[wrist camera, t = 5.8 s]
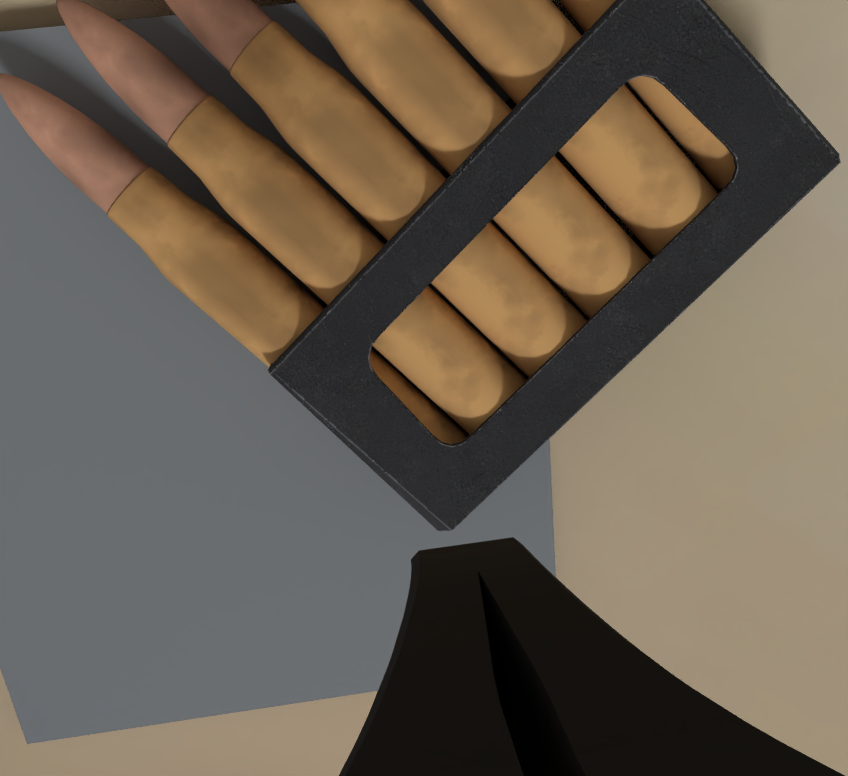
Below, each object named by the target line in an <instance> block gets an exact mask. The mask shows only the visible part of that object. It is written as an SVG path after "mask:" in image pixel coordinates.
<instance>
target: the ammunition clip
mask: <svg viewBox="0 0 848 776" xmlns="http://www.w3.org/2000/svg"><path fill="white" fill-rule="evenodd" d="M164 1H165V2H166V3H167V5H168V6H169V7H170V9H171V10H172V11H173V12H174V13H175V14H176V16H177V17H178V18H179V19H180V20H181V21H182V23H183V24H184V25H185V26H186V27H187V29H188V30H189V31H190V32H191V33H192V34H193V35H194V37H195V38H196V39H197V40H198V41H199V42H200V43H201V44H202V45H203V46H204V47H205V48H206V49H207V50H208V51H209V52H210V53H211V54H212V55H213V56H214V57H215V58H216V59H217V60H218V61H219V62H220V63H221V64H222V65H223V66H224V67H225V68H226V69H227V70H228V71H229V72H230V75H231V76H232V77H233V78H234V79H235V81H236V82H237V83H238V84H239V85H240V86H241V87H242V88H243V89H244V90H245V91H246V92H247V93H248V94H249V95H250V96H251V97H252V98H253V99H254V100H255V101H256V103H257V104H258V105H259V106H260V107H261V108H262V109H263V111H264V112H265V113H266V115H267V116H268V118H269V119H270V120H271V122H272V123H273V125H274V126H275V127H276V129H277V130H278V132H279V133H280V134H281V136H282V137H283V138H284V140H285V141H286V142H287V143H288V144H289V145H290V146H291V148H292V149H293V150H294V151H295V152H296V153H297V154H298V155H299V156H300V157H301V158H302V159H303V160H305V161H306V162H307V163H308V164H309V165H310V166H311V167H312V168H313V169H314V170H315V171H316V172H317V173H318V174H319V175H320V176H321V177H322V178H323V179H324V180H325V181H326V182H327V183H328V184H329V185H330V186H331V187H332V188H333V189H334V190H335V191H337V192H338V193H339V194H340V195H341V196H342V197H343V198H344V199H345V200H346V201H347V202H348V203H349V204H350V205H351V206H352V207H353V208H354V209H355V210H356V211H357V212H358V213H359V214H360V215H361V216H362V217H363V218H364V219H365V220H366V221H367V222H368V223H370V224H371V225H372V226H373V227H374V228H375V229H376V230H377V231H378V232H379V233H380V234H381V235H380V236H379V237H378V238H377V237H376V236H375V235H374V234H373V233H372V232H371V231H370V230H369V229H368V228H367V227H366V226H365V225H363V224H362V223H361V222H360V221H359V220H358V219H357V218H356V217H355V216H354V215H353V214H352V213H351V212H350V211H349V210H348V209H347V208H345V207H344V206H343V205H342V204H341V203H340V202H339V201H338V200H337V199H336V198H335V197H334V196H333V195H332V194H331V193H330V192H329V191H327V190H326V189H325V188H324V187H323V186H322V185H321V184H320V183H319V182H318V181H317V180H316V179H315V178H314V177H313V176H312V175H311V174H309V173H308V172H307V171H306V170H305V169H304V168H303V167H302V166H301V165H300V164H299V163H298V162H297V161H296V160H295V159H294V158H293V157H291V156H290V155H289V154H288V153H287V152H286V151H285V150H283V149H282V148H281V147H279V146H278V145H277V144H275V143H274V142H272V141H271V140H269V139H268V138H266V137H265V136H263V135H262V134H260V133H258V132H257V131H255V130H254V129H252V128H251V127H249V126H248V125H246V124H245V123H244V122H243V121H242V120H240V119H239V118H238V117H237V116H236V115H235V114H234V113H232V112H231V111H230V110H229V109H228V108H227V107H225V106H224V105H223V104H222V103H221V102H220V101H219V100H217V99H216V98H215V97H214V96H210V95H209V94H208V93H207V92H206V91H205V90H204V89H203V88H202V87H201V86H200V85H198V84H197V83H196V82H195V81H194V80H193V79H192V78H191V77H190V76H189V75H188V74H187V73H185V72H184V71H183V70H182V69H181V68H180V67H179V66H178V65H177V64H175V63H174V62H173V61H172V60H170V59H169V58H168V57H167V56H165V55H164V54H163V53H162V52H160V51H159V50H158V49H156V48H155V47H154V46H153V45H151V44H150V43H149V42H147V41H146V40H145V39H143V38H142V37H140V36H139V35H138V34H136V33H135V32H133V31H132V30H130V29H129V28H127V27H126V26H124V25H123V24H121V23H120V22H118V21H116V20H115V19H113V18H111V17H109V16H108V15H106V14H104V13H103V12H101V11H99V10H98V9H95V8H93V7H91V6H89V5H87V4H85V3H83V2H80V1H78V0H57V1H56V5H57V8H58V11H59V13H60V15H61V17H62V19H63V21H64V23H65V25H66V27H67V29H68V30H69V32H70V34H71V36H72V37H73V39H74V40H75V42H76V43H77V44H78V46H79V47H80V49H81V50H82V51H83V53H84V54H85V56H86V57H87V59H88V60H89V61H90V62H91V64H92V65H93V66H94V68H95V69H96V70H97V71H98V73H99V74H100V75H101V76H102V78H103V79H104V80H105V81H106V82H107V84H108V85H109V86H110V87H111V88H112V89H113V90H114V91H115V92H116V93H117V95H118V96H119V97H120V98H121V99H122V100H123V101H124V102H125V103H126V104H127V105H128V107H129V108H130V109H131V110H132V111H133V112H134V113H135V114H136V115H137V116H138V117H139V118H140V119H141V120H142V121H144V122H145V123H146V124H147V125H148V126H149V127H150V128H151V129H152V130H153V131H154V132H155V133H156V134H157V135H158V136H160V137H161V138H162V139H163V140H164V141H165V142H166V143H167V146H168V147H169V148H170V149H171V150H172V151H173V152H174V153H175V154H176V155H177V156H178V157H179V158H180V159H181V160H182V161H183V162H184V163H185V164H186V165H187V166H188V167H189V168H190V169H191V170H192V171H193V172H194V173H195V174H196V175H197V176H198V177H199V178H200V179H201V180H202V182H203V183H204V184H205V186H206V187H207V188H208V190H209V191H210V192H211V193H212V195H213V196H214V197H215V199H216V200H217V201H218V202H219V204H220V205H221V206H222V207H223V209H224V210H225V211H226V212H227V213H228V214H229V215H230V216H231V217H232V218H233V219H234V220H235V221H236V222H237V223H238V224H239V225H241V226H242V227H243V228H244V229H245V230H246V231H247V232H248V233H249V234H250V235H252V236H253V237H254V238H255V239H256V240H257V241H258V242H259V243H260V244H261V245H263V246H264V247H265V248H266V249H267V250H268V251H269V252H270V253H271V254H272V255H273V256H275V257H276V258H277V259H278V260H279V261H280V262H281V263H282V264H283V265H284V266H286V267H287V268H288V269H289V270H290V271H291V272H292V273H293V274H294V275H295V276H297V277H298V278H299V279H300V280H301V281H302V282H303V283H304V284H305V285H306V286H307V287H309V288H310V289H311V290H312V291H313V292H314V293H315V294H316V295H317V296H318V297H320V298H321V299H320V300H319V301H317V300H315V299H314V298H313V297H312V296H311V295H310V294H309V293H308V292H306V291H305V290H304V289H303V288H302V287H301V286H300V285H299V284H297V283H296V282H295V281H294V280H293V279H292V278H291V277H290V276H288V275H287V274H286V273H285V272H284V271H283V270H282V269H281V268H279V267H278V266H277V265H276V264H275V263H274V262H273V261H272V260H270V259H269V258H268V257H267V256H266V255H265V254H264V253H263V252H261V251H260V250H259V249H258V248H257V247H256V246H255V245H254V244H252V243H251V242H250V241H249V240H248V239H247V238H246V237H245V236H243V235H242V234H241V233H240V232H239V231H238V230H237V229H236V228H234V227H233V226H232V225H231V224H230V223H229V222H227V221H226V220H225V219H224V218H222V217H221V216H220V215H218V214H217V213H215V212H213V211H212V210H210V209H209V208H207V207H205V206H204V205H202V204H201V203H199V202H197V201H196V200H194V199H192V198H191V197H189V196H187V195H186V194H185V193H184V192H182V191H181V190H180V189H179V188H177V187H176V186H175V185H174V184H173V183H171V182H170V181H169V180H168V179H167V178H165V177H164V176H163V175H162V174H160V173H159V172H158V171H157V170H156V169H154V168H153V167H150V166H148V165H147V164H146V163H145V162H144V161H143V160H141V159H140V158H139V157H138V156H137V155H136V154H135V153H133V152H132V151H131V150H130V149H129V148H128V147H126V146H125V145H124V144H123V143H122V142H121V141H119V140H118V139H117V138H116V137H114V136H113V135H112V134H110V133H109V132H108V131H106V130H105V129H104V128H102V127H101V126H100V125H98V124H97V123H95V122H94V121H93V120H91V119H90V118H89V117H87V116H86V115H85V114H83V113H82V112H80V111H79V110H77V109H75V108H74V107H72V106H71V105H69V104H68V103H66V102H64V101H63V100H61V99H60V98H58V97H56V96H54V95H53V94H51V93H49V92H47V91H45V90H44V89H42V88H40V87H38V86H36V85H34V84H32V83H30V82H27V81H25V80H23V79H20V78H17V77H15V76H12V75H9V74H5V73H0V93H1V95H2V97H3V99H4V101H5V102H6V104H7V106H8V107H9V109H10V110H11V112H12V114H13V115H14V116H15V118H16V119H17V120H18V122H19V123H20V124H21V126H22V127H23V128H24V130H25V131H26V132H27V134H28V135H29V136H30V137H31V139H32V140H33V141H34V142H35V144H36V145H37V146H38V147H39V148H40V149H41V151H42V152H43V153H44V154H45V155H46V156H47V157H48V158H49V159H50V160H51V161H52V163H53V164H54V165H55V166H56V167H57V168H58V169H59V170H60V171H61V172H62V173H63V174H64V175H65V176H66V177H67V178H68V179H69V180H70V181H71V182H72V183H73V184H74V185H75V186H76V187H77V188H78V189H80V190H81V191H82V192H83V193H84V194H85V195H86V196H87V197H89V198H90V199H91V200H92V201H93V202H94V203H95V204H97V205H98V206H99V207H100V208H101V209H102V210H103V211H104V212H106V213H107V216H108V217H109V218H110V219H111V220H112V221H113V222H114V223H115V224H116V225H117V226H118V227H119V228H121V229H122V230H123V231H124V232H125V233H126V234H127V235H128V236H129V237H130V238H131V239H132V240H134V241H135V242H136V243H137V244H138V245H139V246H140V247H141V249H142V250H143V251H144V252H145V254H146V255H147V256H148V257H149V259H150V260H151V261H152V262H153V264H154V265H155V266H156V267H157V268H158V270H159V271H160V272H161V273H162V274H163V275H164V277H165V278H166V279H167V280H168V281H169V282H170V283H172V284H173V285H174V286H175V287H176V288H177V289H178V290H179V291H181V292H182V293H183V294H184V295H185V296H186V297H188V298H189V299H190V300H191V301H192V302H193V303H195V304H196V305H197V306H198V307H199V308H200V309H202V310H203V311H204V312H205V313H206V314H207V315H209V316H210V317H211V318H212V319H213V320H214V321H216V322H217V323H218V324H219V325H220V326H221V327H223V328H224V329H225V330H226V331H227V332H228V333H230V334H231V335H232V336H233V337H234V338H235V339H236V340H238V341H239V342H240V343H241V344H242V345H243V346H245V347H246V348H247V349H248V350H249V351H250V352H252V353H253V354H254V355H255V356H256V357H257V358H259V359H260V360H261V361H262V362H263V363H264V364H266V365H267V366H268V367H269V369H268V372H269V374H270V375H271V376H272V377H273V378H274V379H276V380H277V381H278V382H279V383H280V384H281V385H282V386H283V387H284V388H285V389H286V390H287V391H288V392H289V393H291V394H292V395H293V396H294V397H295V398H296V399H297V400H298V401H299V402H300V403H301V404H302V405H303V406H305V407H306V408H307V409H308V410H309V411H310V412H311V413H312V414H313V415H314V416H315V417H316V418H317V419H318V420H320V421H321V422H322V423H323V424H324V425H325V426H326V427H327V428H328V429H329V430H330V431H331V432H332V433H333V434H335V435H336V436H337V437H338V438H339V439H340V440H341V441H342V442H343V443H344V444H345V445H346V446H347V447H348V448H350V449H351V450H352V451H353V452H354V453H355V454H356V455H357V456H358V457H359V458H360V459H361V460H362V461H363V462H365V463H366V464H367V465H368V466H369V467H370V468H371V469H372V470H373V471H374V472H375V473H376V474H377V475H378V476H380V477H381V478H382V479H383V480H384V481H385V482H386V483H387V484H388V485H389V486H390V487H391V488H392V489H393V490H395V491H396V492H397V493H398V494H399V495H400V496H401V497H402V498H403V499H404V500H405V501H406V502H407V503H409V504H410V505H411V506H412V507H413V508H414V509H415V510H416V511H417V512H418V513H419V514H420V515H421V516H422V517H424V518H425V519H426V520H427V521H428V522H429V523H430V524H431V525H432V526H433V527H434V528H435V529H436V530H437V531H439V532H441V531H452V530H453V529H454V528H456V527H457V526H458V525H459V524H460V523H461V522H462V521H463V520H464V519H465V518H466V517H467V516H468V515H469V514H470V513H471V512H472V511H473V510H474V509H476V508H477V507H478V506H479V505H480V504H481V503H482V502H483V501H484V500H485V499H486V498H487V497H488V496H489V495H490V494H491V493H492V492H493V491H495V490H496V489H497V488H498V487H499V486H500V485H501V484H502V483H503V482H504V481H505V480H506V479H507V478H508V477H509V476H510V475H511V474H512V473H513V472H515V471H516V470H517V469H518V468H519V467H520V466H521V465H522V464H523V463H524V462H525V461H526V460H527V459H528V458H529V457H530V456H531V455H532V454H534V453H535V452H536V451H537V450H538V449H539V448H540V447H541V446H542V445H543V444H544V443H545V442H546V441H547V440H548V439H549V438H550V437H551V436H552V435H554V434H555V433H556V432H557V431H558V430H559V429H560V428H561V427H562V426H563V425H564V424H565V423H566V422H567V421H568V420H569V419H570V418H571V417H573V416H574V415H575V414H576V413H577V412H578V411H579V410H580V409H581V408H582V407H583V406H584V405H585V404H586V403H587V402H588V401H589V400H590V399H591V398H593V397H594V396H595V395H596V394H597V393H598V392H599V391H600V390H601V389H602V388H603V387H604V386H605V385H606V384H607V383H608V382H609V381H610V380H612V379H613V378H614V377H615V376H616V375H617V374H618V373H619V372H620V371H621V370H622V369H623V368H624V367H625V366H626V365H627V364H628V363H629V362H631V361H632V360H633V359H634V358H635V357H636V356H637V355H638V354H639V353H640V352H641V351H642V350H643V349H644V348H645V347H646V346H647V345H648V344H649V343H651V342H652V341H653V340H654V339H655V338H656V337H657V336H658V335H659V334H660V333H661V332H662V331H663V330H664V329H665V328H666V327H667V326H668V325H670V324H671V323H672V322H673V321H674V320H675V319H676V318H677V317H678V316H679V315H680V314H681V313H682V312H683V311H684V310H685V309H686V308H687V307H688V306H690V305H691V304H692V303H693V302H694V301H695V300H696V299H697V298H698V297H699V296H700V295H701V294H702V293H703V292H704V291H705V290H706V289H707V288H709V287H710V286H711V285H712V284H713V283H714V282H715V281H716V280H717V279H718V278H719V277H720V276H721V275H722V274H723V273H724V272H725V271H726V270H727V269H729V268H730V267H731V266H732V265H733V264H734V263H735V262H736V261H737V260H738V259H739V258H740V257H741V256H742V255H743V254H744V253H745V252H746V251H748V250H749V249H750V248H751V247H752V246H753V245H754V244H755V243H756V242H757V241H758V240H759V239H760V238H761V237H762V236H763V235H764V234H765V233H767V232H768V231H769V230H770V229H771V228H772V227H773V226H774V225H775V224H776V223H777V222H778V221H779V220H780V219H781V218H782V217H783V216H784V215H785V214H787V213H788V212H789V211H790V210H791V209H792V208H793V207H794V206H795V205H796V204H797V203H798V202H799V201H800V200H801V199H802V198H803V197H804V196H806V195H807V194H808V193H809V192H810V191H811V190H812V189H813V188H814V187H815V186H816V185H817V184H818V183H819V182H820V181H821V180H822V179H823V178H824V177H826V176H827V175H828V174H829V173H830V172H831V171H832V170H833V169H834V168H835V167H836V166H837V165H838V164H839V163H840V158H839V153H838V152H837V151H836V150H835V149H834V148H833V146H832V145H831V144H830V143H829V142H828V141H827V140H826V138H825V137H824V136H823V135H822V134H821V133H820V132H819V131H818V129H817V128H816V127H815V126H814V125H813V124H812V123H811V121H810V120H809V119H808V118H807V117H806V116H805V115H804V113H803V112H802V111H801V110H800V109H799V108H798V107H797V106H796V104H795V103H794V102H793V101H792V100H791V99H790V98H789V96H788V95H787V94H786V93H785V92H784V91H783V90H782V88H781V87H780V86H779V85H778V84H777V83H776V82H775V80H774V79H773V78H772V77H771V76H770V75H769V74H768V73H767V71H766V70H765V69H764V68H763V67H762V66H761V65H760V63H759V62H758V61H757V60H756V59H755V58H754V57H753V55H752V54H751V53H750V52H749V51H748V50H747V49H746V48H745V46H744V45H743V44H742V43H741V42H740V41H739V40H738V38H737V37H736V36H735V35H734V34H733V33H732V32H731V30H730V29H729V28H728V27H727V26H726V25H725V24H724V22H723V21H722V20H721V19H720V18H719V17H718V16H717V15H716V13H715V12H714V11H713V10H712V9H711V8H710V7H709V5H708V4H707V3H706V2H705V1H704V0H558V1H559V2H560V3H561V4H562V6H563V7H564V8H565V9H566V10H567V11H568V13H569V14H570V15H571V16H572V17H573V19H574V20H575V21H576V22H577V23H578V25H577V26H576V27H574V26H573V25H572V24H571V23H570V22H569V20H568V19H567V18H566V17H565V16H564V15H563V13H562V12H561V11H560V10H559V9H558V8H557V7H556V5H555V4H554V3H553V2H552V1H551V0H423V1H424V2H425V4H426V5H427V6H428V7H429V8H430V9H431V10H432V12H433V13H434V14H435V15H436V16H437V17H438V18H439V19H440V20H441V21H442V23H443V24H444V25H445V26H446V27H447V28H448V29H449V30H450V31H451V33H452V34H453V35H454V36H455V37H456V38H457V39H458V40H459V41H460V42H461V44H462V45H463V46H464V47H465V48H466V49H467V50H468V51H469V52H470V54H471V55H472V56H473V57H474V58H475V59H476V60H477V61H478V62H479V63H480V65H481V66H482V67H483V68H484V69H485V70H486V71H487V72H488V73H489V75H490V76H491V77H492V78H493V79H494V80H495V81H496V82H497V83H498V84H499V86H500V87H501V88H502V89H503V90H504V91H505V92H506V93H507V94H508V96H509V97H510V98H509V99H508V100H507V101H506V102H504V101H503V100H502V99H501V98H500V97H499V96H498V95H497V94H496V92H495V91H494V90H493V89H492V88H491V87H490V86H489V85H488V84H487V83H486V82H485V81H484V80H483V78H482V77H481V76H480V75H479V74H478V73H477V72H476V71H475V70H474V69H473V68H472V67H471V66H470V65H469V63H468V62H467V61H466V60H465V59H464V58H463V57H462V56H461V55H460V54H459V53H458V52H457V51H456V49H455V48H454V47H453V46H452V45H451V44H450V43H449V42H448V41H447V40H446V39H445V38H444V37H443V36H442V34H441V33H440V32H439V31H438V30H437V29H436V28H435V27H434V26H433V25H432V24H431V23H430V22H429V20H428V19H427V18H426V17H425V16H424V15H423V14H422V13H421V12H420V11H419V10H418V9H417V8H416V7H415V6H414V5H413V4H412V3H411V2H410V1H408V0H295V1H296V2H297V3H298V4H299V5H300V6H301V8H302V9H303V10H304V11H305V12H306V13H307V14H308V15H309V17H310V18H311V19H312V20H313V21H314V22H315V23H316V24H317V25H318V27H319V28H320V29H321V30H322V31H323V32H324V33H325V35H326V36H327V38H328V39H329V41H330V42H331V44H332V45H333V47H334V48H335V50H336V51H337V53H338V54H339V56H340V57H341V59H342V60H343V61H344V63H345V64H346V66H347V67H348V69H349V70H350V71H351V72H352V74H353V75H354V76H355V77H356V78H357V79H358V80H359V81H360V82H361V83H362V85H363V86H364V87H365V88H366V89H367V90H368V91H369V92H370V93H371V94H372V95H373V96H374V97H375V98H376V99H377V100H378V101H379V102H380V103H381V104H382V105H383V106H384V107H385V108H386V109H387V110H388V111H389V112H390V113H391V114H392V115H393V117H394V118H395V119H396V120H397V121H398V122H399V123H400V124H401V125H402V126H403V127H404V128H405V129H406V130H407V131H408V132H409V133H410V134H411V135H412V136H413V137H414V138H415V139H416V140H417V141H418V142H419V143H420V144H421V145H422V146H423V148H424V149H425V150H426V151H427V152H428V153H429V154H430V155H431V156H432V157H433V158H434V159H435V160H436V161H437V162H438V163H439V164H440V165H441V166H442V167H443V169H442V170H441V171H439V170H438V169H437V168H436V167H435V166H434V165H433V164H432V163H431V162H430V161H429V160H428V159H427V158H426V157H425V156H424V155H423V154H422V153H421V152H420V151H419V150H418V149H417V148H416V147H415V146H414V145H413V144H412V143H411V142H410V141H409V140H408V139H407V138H406V137H405V136H404V135H403V134H402V133H401V132H400V131H399V130H398V129H397V128H396V127H395V126H394V125H393V124H392V123H391V122H390V121H389V120H388V119H387V118H386V117H385V116H384V115H383V114H382V113H381V112H380V111H379V110H378V109H377V108H376V107H375V106H374V105H373V104H372V103H371V102H370V101H369V100H368V99H367V98H366V97H365V96H364V95H363V94H362V93H361V92H360V91H359V90H358V89H357V88H356V87H355V85H353V84H352V83H351V82H350V81H349V80H348V79H347V78H346V77H345V76H343V75H342V74H341V73H339V72H338V71H336V70H335V69H334V68H332V67H331V66H329V65H328V64H326V63H325V62H323V61H322V60H321V59H319V58H318V57H316V56H315V55H313V54H312V53H310V52H309V51H308V50H307V49H306V48H305V47H304V46H303V45H302V44H300V43H299V42H298V41H297V40H296V39H295V38H294V37H293V36H292V35H291V34H290V33H289V32H288V31H286V30H285V29H284V28H283V27H282V26H281V25H280V24H279V23H278V22H277V21H273V20H272V19H271V18H270V17H269V16H268V15H267V14H266V13H265V12H264V11H263V10H262V9H261V8H260V7H259V6H258V5H257V4H256V3H255V2H254V1H253V0H164ZM626 86H627V87H628V88H629V89H631V90H632V91H633V92H634V93H635V94H636V95H637V96H638V97H639V98H640V99H641V100H642V101H643V102H644V103H645V104H646V105H647V106H648V108H649V109H650V110H651V111H652V112H653V114H654V115H655V116H656V117H657V118H658V119H659V121H660V122H661V123H662V124H663V125H664V127H665V128H666V129H667V130H668V131H669V132H670V134H671V135H672V136H673V137H674V138H675V140H676V141H677V142H678V143H679V144H680V146H681V147H682V148H683V149H684V150H685V151H686V153H687V154H688V155H689V156H690V157H691V159H692V160H693V161H694V162H695V163H696V167H695V166H694V165H693V163H692V162H691V161H690V160H689V159H688V158H687V157H686V155H685V154H684V153H683V152H682V151H681V150H680V148H679V147H678V146H677V145H676V144H675V143H674V142H673V140H672V139H671V138H670V137H669V136H668V135H667V133H666V132H665V131H664V130H663V129H662V128H661V127H660V125H659V124H658V123H657V122H656V121H655V120H654V118H653V117H652V116H651V115H650V114H649V113H648V112H647V110H646V109H645V108H644V107H643V106H642V105H641V103H640V102H639V101H638V100H637V99H636V98H635V97H634V95H633V94H632V93H631V92H630V91H629V90H628V88H627V87H626ZM558 151H559V152H560V153H561V154H562V155H563V156H564V157H565V159H566V160H567V161H568V162H569V163H570V164H571V165H572V166H573V167H574V169H575V170H576V171H577V172H578V173H579V174H580V175H581V176H582V177H583V178H584V180H585V181H586V182H587V183H588V184H589V185H590V186H591V187H592V188H593V190H594V191H595V192H596V193H597V194H598V195H599V196H600V197H601V198H602V199H603V201H604V202H605V203H606V204H607V205H608V206H609V207H610V208H611V209H612V211H613V212H614V213H615V214H616V215H617V216H618V217H619V218H620V219H621V220H622V222H623V223H624V224H625V225H626V226H627V227H628V228H629V229H630V230H631V232H632V233H633V234H634V235H633V236H632V237H631V238H630V237H629V235H628V234H627V233H626V232H625V231H624V230H623V229H622V228H621V227H620V226H619V225H618V224H617V223H616V221H615V220H614V219H613V218H612V217H611V216H610V215H609V214H608V213H607V212H606V211H605V210H604V209H603V207H602V206H601V205H600V204H599V203H598V202H597V201H596V200H595V199H594V198H593V197H592V196H591V195H590V194H589V192H588V191H587V190H586V189H585V188H584V187H583V186H582V185H581V184H580V183H579V182H578V181H577V180H576V178H575V177H574V176H573V175H572V174H571V173H570V172H569V171H568V170H567V169H566V168H565V167H564V166H563V164H562V163H561V162H560V161H559V160H558V159H557V158H556V157H555V156H554V155H555V154H556V153H557V152H558ZM492 219H493V220H494V221H495V222H496V223H497V224H498V225H499V226H500V227H501V228H502V229H503V230H504V231H505V232H506V233H507V234H508V235H509V236H510V237H511V238H512V239H513V240H514V242H515V243H516V244H517V245H518V246H519V247H520V248H521V249H522V250H523V251H524V252H525V253H526V254H527V255H528V256H529V257H530V258H531V259H532V260H533V261H534V262H535V263H536V264H537V265H538V266H539V267H540V268H541V269H542V270H543V271H544V273H545V274H546V275H547V276H548V277H549V278H550V279H551V280H552V281H553V282H554V283H555V284H556V285H557V286H558V287H559V288H560V289H561V290H562V291H563V292H564V293H565V294H566V295H567V296H568V297H569V299H568V300H567V299H566V298H565V297H564V296H563V295H562V294H561V293H560V292H559V291H558V290H557V289H556V288H555V287H554V286H553V285H552V284H551V283H550V282H549V281H548V280H547V279H546V278H545V277H544V276H543V275H542V274H541V273H540V272H539V271H538V270H537V269H536V268H535V267H534V266H533V265H532V264H531V263H530V262H529V261H528V260H527V259H526V258H525V257H524V256H523V255H522V254H521V253H520V252H519V251H518V250H517V249H516V248H515V247H514V246H513V245H512V244H511V243H510V241H509V240H508V239H507V238H506V237H505V236H504V235H503V234H502V233H501V232H500V231H499V230H498V229H497V228H496V227H495V226H494V225H493V224H492V223H491V222H490V221H491V220H492ZM430 283H431V284H432V285H433V286H435V287H436V288H437V289H438V290H439V291H440V292H441V293H442V294H443V295H444V296H445V297H446V298H447V299H448V300H449V301H450V302H451V303H452V304H453V305H454V306H455V307H456V308H457V309H458V310H459V311H460V312H461V313H462V314H463V315H464V316H465V317H467V318H468V319H469V320H470V321H471V322H472V323H473V324H474V325H475V326H476V327H477V328H478V329H479V330H480V331H481V332H482V333H483V334H484V335H485V336H486V337H487V338H488V339H489V340H490V341H491V342H492V343H493V344H494V345H495V346H496V347H497V348H498V349H500V350H501V351H502V352H503V353H504V354H505V355H506V356H507V357H508V359H507V360H506V359H505V358H504V357H503V356H502V355H501V354H500V353H499V352H498V351H497V350H496V349H495V348H494V347H493V346H492V345H491V344H489V343H488V342H487V341H486V340H485V339H484V338H483V337H482V336H481V335H480V334H479V333H478V332H477V331H476V330H475V329H474V328H473V327H471V326H470V325H469V324H468V323H467V322H466V321H465V320H464V319H463V318H462V317H461V316H460V315H459V314H458V313H457V312H456V311H455V310H453V309H452V308H451V307H450V306H449V305H448V304H447V303H446V302H445V301H444V300H443V299H442V298H441V297H440V296H439V295H438V294H437V293H435V292H434V291H433V290H432V289H431V288H430V287H429V286H428V285H429V284H430ZM372 346H373V347H374V348H376V349H377V350H378V351H379V352H380V353H381V354H382V355H383V356H384V357H385V358H387V359H388V360H389V361H390V362H391V363H392V364H393V365H394V366H395V367H396V368H397V369H399V370H400V371H401V372H402V373H403V374H404V375H405V376H406V377H407V378H408V379H410V380H411V381H412V382H413V383H414V384H415V385H416V386H417V387H418V388H419V389H421V390H422V391H423V392H424V393H425V394H426V395H427V396H428V397H429V398H430V399H432V400H433V401H434V402H435V403H436V404H437V405H438V406H439V407H440V408H441V409H442V410H444V411H445V412H446V413H447V414H444V413H443V412H442V411H440V410H439V409H438V408H437V407H436V406H435V405H434V404H433V403H431V402H430V401H429V400H428V399H427V398H426V397H425V396H424V395H422V394H421V393H420V392H419V391H418V390H417V389H416V388H415V387H413V386H412V385H411V384H410V383H409V382H408V381H407V380H406V379H404V378H403V377H402V376H401V375H400V374H399V373H398V372H397V371H395V370H394V369H393V368H392V367H391V366H390V365H389V364H388V363H386V362H385V361H384V360H383V359H382V358H381V357H380V356H379V355H378V354H377V353H376V352H375V350H374V349H373V348H372Z"/></svg>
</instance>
